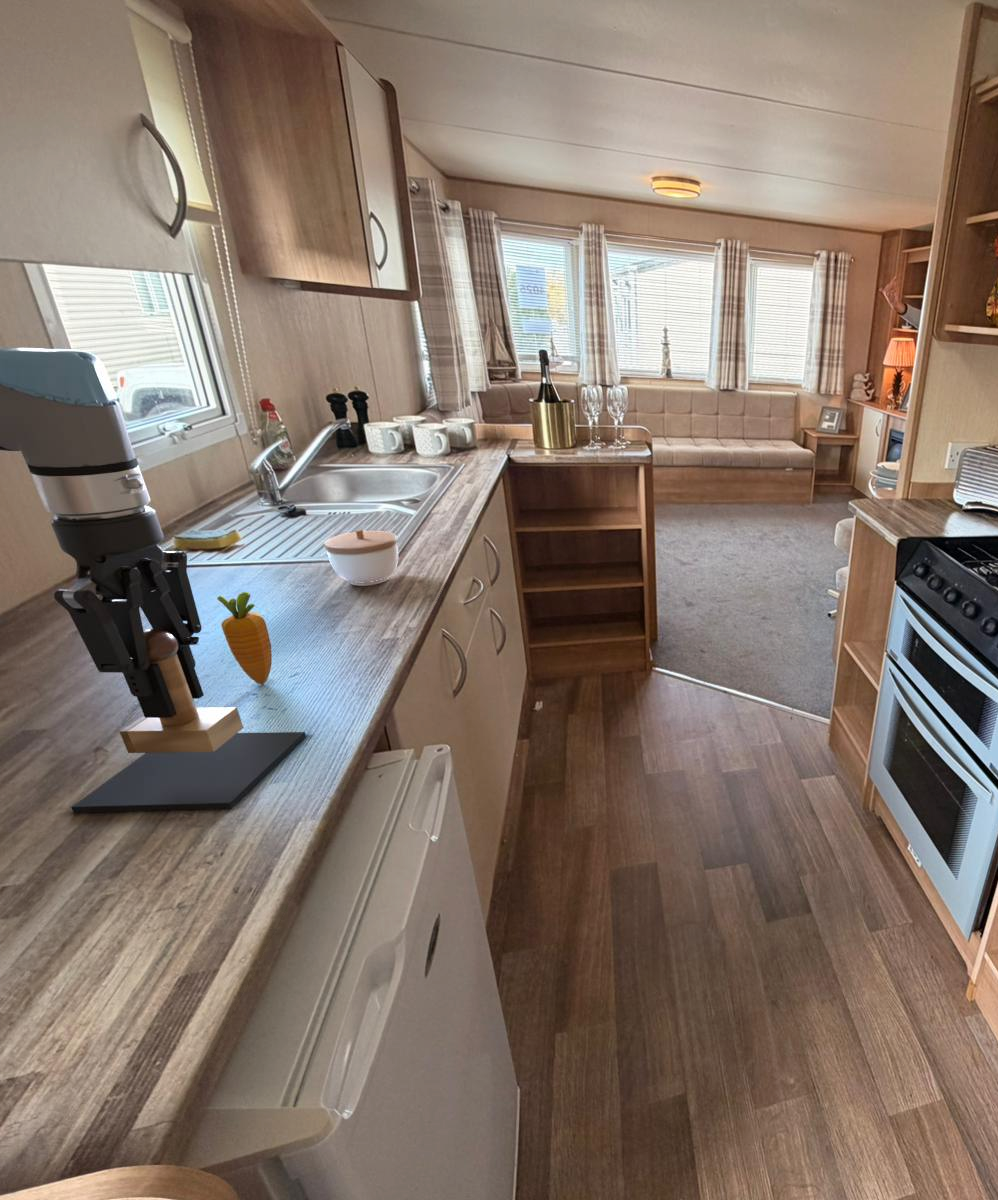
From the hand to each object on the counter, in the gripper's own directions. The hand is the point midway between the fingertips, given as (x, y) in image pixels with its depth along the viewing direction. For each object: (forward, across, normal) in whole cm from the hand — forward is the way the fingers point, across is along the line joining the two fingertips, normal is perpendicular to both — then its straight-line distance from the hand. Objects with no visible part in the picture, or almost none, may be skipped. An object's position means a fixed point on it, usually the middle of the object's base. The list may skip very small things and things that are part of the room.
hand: (175, 705), depth 74 cm
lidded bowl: (+10, +65, +12) cm, 67 cm away
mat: (+9, 0, 0) cm, 9 cm away
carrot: (+10, +21, +6) cm, 24 cm away
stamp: (+5, 0, 0) cm, 5 cm away
